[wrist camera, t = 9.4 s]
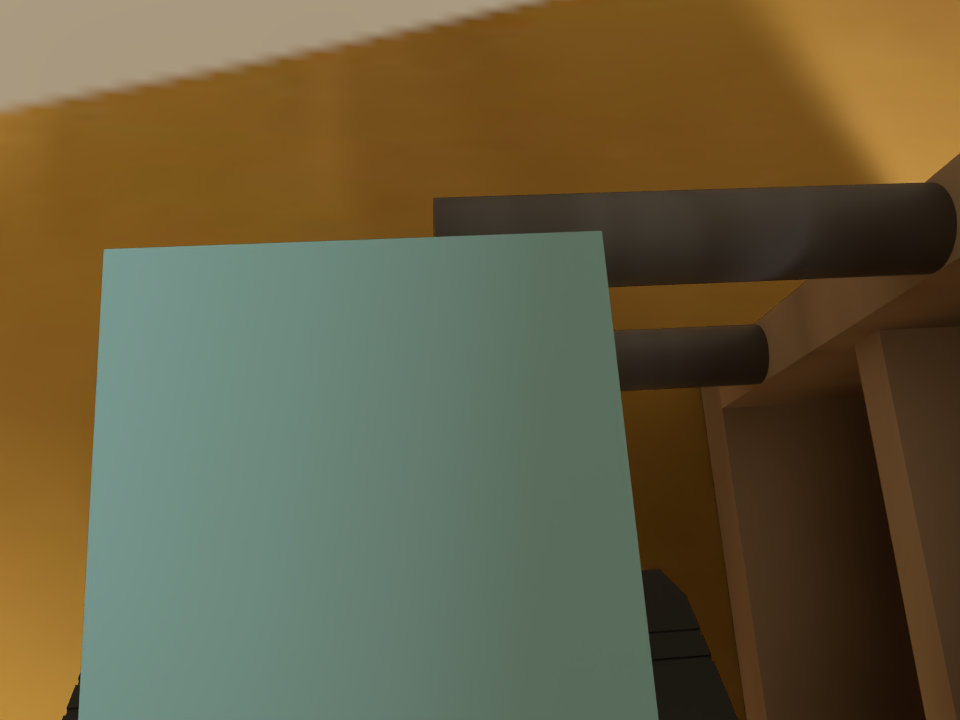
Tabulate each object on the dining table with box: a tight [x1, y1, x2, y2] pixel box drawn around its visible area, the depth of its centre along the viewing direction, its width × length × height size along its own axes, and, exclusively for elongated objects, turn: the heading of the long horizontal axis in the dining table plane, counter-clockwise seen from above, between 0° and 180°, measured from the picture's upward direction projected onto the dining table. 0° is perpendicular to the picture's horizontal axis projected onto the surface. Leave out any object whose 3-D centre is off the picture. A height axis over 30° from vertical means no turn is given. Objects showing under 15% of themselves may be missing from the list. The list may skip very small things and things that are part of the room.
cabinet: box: [433, 154, 960, 720], centre depth 13 cm, size 14×12×13 cm
